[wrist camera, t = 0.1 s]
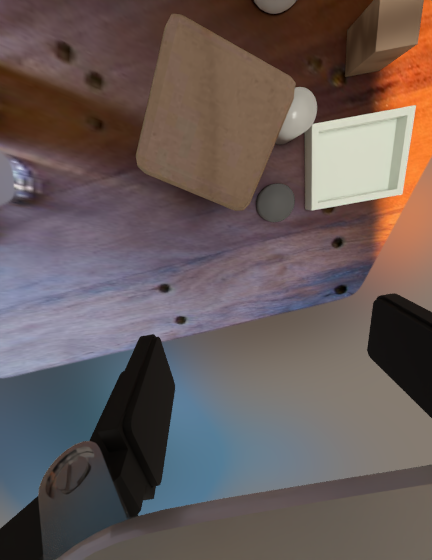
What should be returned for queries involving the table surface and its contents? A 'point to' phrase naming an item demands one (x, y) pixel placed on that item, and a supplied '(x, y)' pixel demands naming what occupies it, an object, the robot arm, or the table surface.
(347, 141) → the tray
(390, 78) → the table surface
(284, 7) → the milk bottle
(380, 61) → the walnut block
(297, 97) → the white rounded cylinder
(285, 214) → the gray rounded object
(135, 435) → the robot arm
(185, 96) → the wooden block
